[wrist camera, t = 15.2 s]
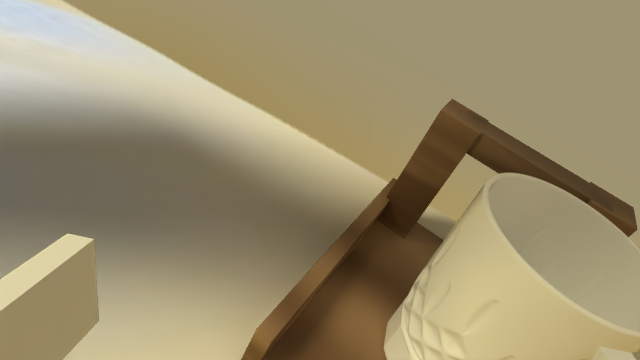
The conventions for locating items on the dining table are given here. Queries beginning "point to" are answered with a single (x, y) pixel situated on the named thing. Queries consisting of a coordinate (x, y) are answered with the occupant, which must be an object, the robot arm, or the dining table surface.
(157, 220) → the dining table surface
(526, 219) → the white cup
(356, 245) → the brown wooden stand
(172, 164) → the dining table surface
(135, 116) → the dining table surface
